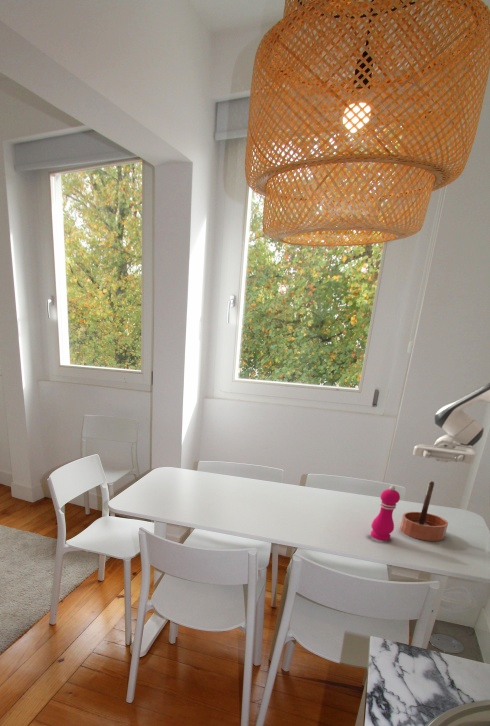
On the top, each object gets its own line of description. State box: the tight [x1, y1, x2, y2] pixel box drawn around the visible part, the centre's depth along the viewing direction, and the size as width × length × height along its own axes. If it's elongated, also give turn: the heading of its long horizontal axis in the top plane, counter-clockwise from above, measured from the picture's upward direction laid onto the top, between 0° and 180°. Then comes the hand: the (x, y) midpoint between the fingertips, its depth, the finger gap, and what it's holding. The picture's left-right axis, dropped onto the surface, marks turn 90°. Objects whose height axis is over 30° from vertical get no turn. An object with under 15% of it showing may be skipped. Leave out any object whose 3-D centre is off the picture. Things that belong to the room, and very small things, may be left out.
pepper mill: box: [370, 485, 401, 542], centre depth 164 cm, size 7×7×20 cm
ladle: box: [415, 480, 435, 526], centre depth 170 cm, size 6×6×19 cm
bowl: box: [399, 511, 449, 542], centre depth 171 cm, size 14×14×6 cm
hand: (441, 457), depth 174 cm, fingers open, 8 cm apart
